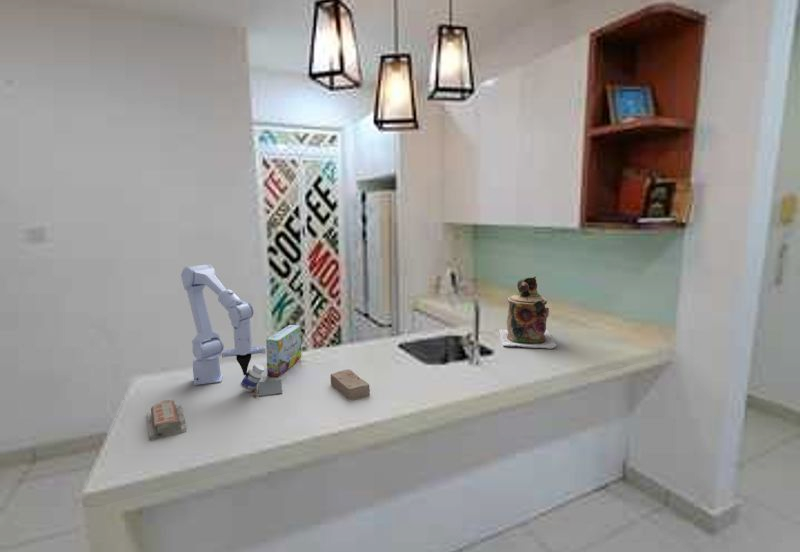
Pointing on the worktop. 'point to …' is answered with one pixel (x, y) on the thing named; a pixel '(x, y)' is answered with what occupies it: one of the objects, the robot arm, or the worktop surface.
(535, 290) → the cookie jar
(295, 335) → the snack box
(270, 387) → the rubber mat
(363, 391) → the brick
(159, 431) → the packaged product
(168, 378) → the worktop surface
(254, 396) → the walnut strip
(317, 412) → the worktop surface
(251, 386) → the pill bottle
